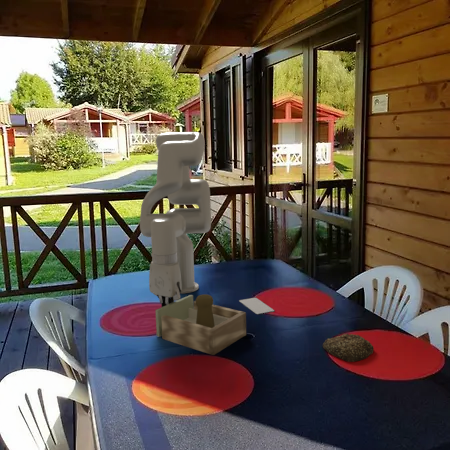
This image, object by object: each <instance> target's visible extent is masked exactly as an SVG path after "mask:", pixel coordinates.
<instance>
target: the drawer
mask: <svg viewBox="0 0 450 450" xmlns="http://www.w3.org/2000/svg"><path fill="white" fill-rule="evenodd" d="M164 315H167V316H170V317H174V318H177V319H181V320H184V321H188V322H192V323H195V324H196V319H197V310H196V309H194V295H193V294H189V295H188V296H187V295H186V296H185V297H182V298H181V299H179V300H174V302H173V303H170V304H168V305H166V306H164V307H162V306H161V307H159V308H157V309H155V327H156V337H159V338H160V337H162V319H161V316H164ZM213 318H214V324H215V326H217V325H219V324H220V323H222V322H224V321H226V320H228V319H229V318H227V317H223V316H219V315H215V314H213Z"/></svg>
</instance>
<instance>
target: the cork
mask: <svg viewBox="0 0 450 450" xmlns="http://www.w3.org/2000/svg"><path fill="white" fill-rule="evenodd" d="M195 301H196V306H197V307H198V309H197V319H196V324H199V325H202V326H206V327H210V328H213V327H215V324H214V318H213V312H212V305H214V298H213V296H212V295H211V294H207V293H206V294H200V295H198V296H197V297H196V298H195Z"/></svg>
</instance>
